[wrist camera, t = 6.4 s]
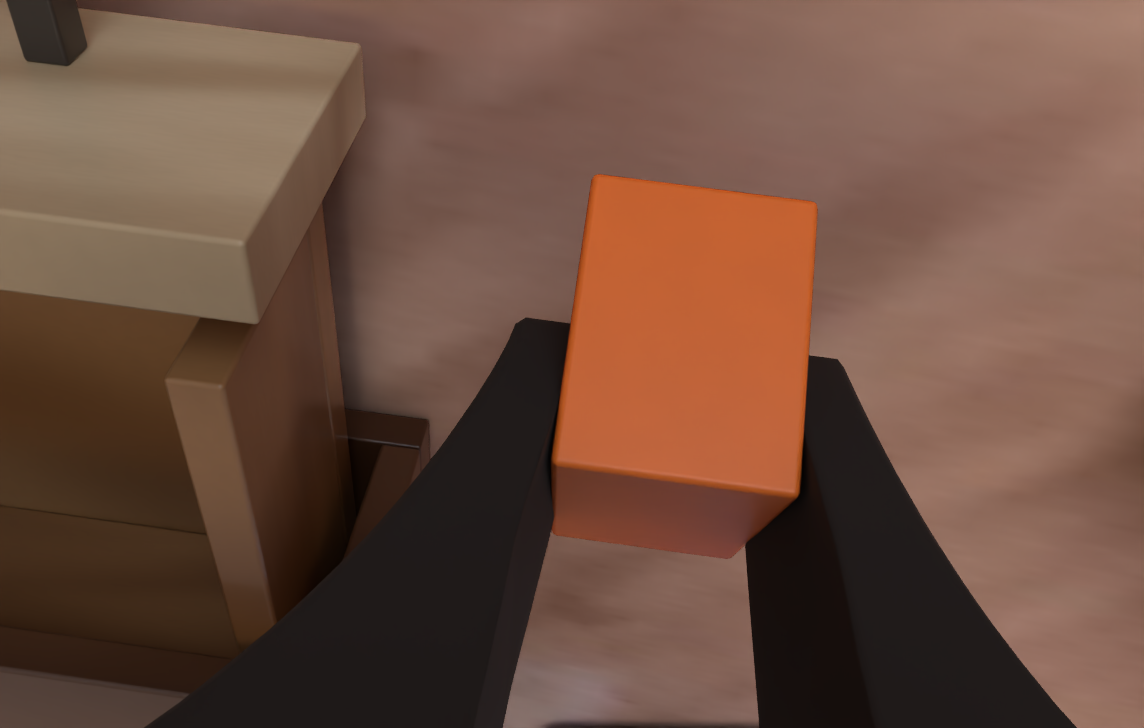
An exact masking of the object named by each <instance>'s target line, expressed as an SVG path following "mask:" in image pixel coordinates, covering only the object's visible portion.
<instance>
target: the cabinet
mask: <svg viewBox="0 0 1144 728" xmlns="http://www.w3.org/2000/svg"><path fill="white" fill-rule="evenodd" d="M345 417H346V427H347V436H348V445H349V454H350V463H351V472H352V482H353V491H354V500H355V509H356V518H357V519H356V522H355V525H354V528H353V531H352V534H351V536H350V539H349V542H348V545H347V548H346V551H345V554H344V557H343V560H344V559H345V558H346V557H347V556H348V555H349V554H350V553H351V551H352V550H353V549H354V548H355V547H356V546H357V545H358V544H359V543H360V542H361V541H362V540H363V539H364V538H365V537H366V536H367V535H368V534H369V533H370V531H371V530H372V529H373V528H374V527H375V526H376V525H377V524H378V523H379V522H380V520H381V519H382V518H383V517H384V516H385V515H386V514H387V512H388V511H389V510H390V509H391V508H392V507H393V506H394V504H395V503H396V502H397V501H398V500H399V499H400V497H401V496H402V495H403V494H404V492H405V491H406V490H407V489H408V487H409V486H410V485H411V484H412V483H413V481H414V480H415V479H416V478H417V476H418V475H419V474H420V473H421V471H422V470H423V469H424V468H425V466H426V465H427V464H428V463H429V461H430V453H429V423H428V421H427V420H423V419H416V418H409V417H402V416H394V415H387V414H380V413H372V412H365V411H358V410H350V409H345ZM343 560H342V561H343ZM232 660H233V659H232V658H225V657H218V656H212V655H205V654H198V653H191V652H184V651H177V650H170V649H163V648H156V647H149V646H142V645H135V644H128V643H121V642H114V641H107V640H100V639H94V638H87V637H80V636H73V635H66V634H59V633H52V632H45V631H38V630H31V629H24V628H17V627H10V626H3V625H0V728H144V727H145V726H147V725H148V724H150V723H151V722H152V721H154V720H155V719H157V718H158V717H159V716H161V715H162V714H164V713H165V712H166V711H168V710H169V709H171V708H172V707H173V706H175V705H176V704H178V703H179V702H180V701H182V700H183V699H184V698H185V697H187V696H188V695H189V694H191V693H192V692H193V691H195V690H196V689H197V688H199V687H200V686H201V685H202V684H204V683H205V682H206V681H207V680H208V679H210V678H211V677H212V676H213V675H215V674H216V673H217V672H218V671H219V670H221V669H222V668H223V667H224V666H225V665H227V664H228V663H229V662H230V661H232Z"/></svg>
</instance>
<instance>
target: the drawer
mask: <svg viewBox="0 0 1144 728" xmlns="http://www.w3.org/2000/svg"><path fill="white" fill-rule="evenodd" d="M365 117H366V108H365V94H364V79H363V65H362V50H361V46H360V44H358V43H352V42H344V41H336V40H328V39H320V38H312V37H304V36H296V35H289V34H281V33H273V32H265V31H257V30H249V29H241V28H233V27H225V26H217V25H209V24H202V23H194V22H186V21H178V20H170V19H162V18H154V17H146V16H138V15H130V14H122V13H115V12H107V11H99V10H91V9H83V8H78V7H77V3H76V0H0V625H3V626H10V627H17V628H24V629H31V630H38V631H45V632H52V633H59V634H66V635H73V636H80V637H87V638H94V639H100V640H107V641H114V642H121V643H128V644H135V645H142V646H149V647H156V648H163V649H170V650H177V651H184V652H191V653H198V654H205V655H212V656H218V657H225V658H232V659H234V658H235V657H236V656H238V655H239V654H240V653H241V652H243V651H244V650H245V649H246V648H247V647H249V646H250V645H251V644H252V643H254V642H255V641H256V640H257V639H258V638H260V637H261V636H262V635H263V634H265V633H266V632H267V631H268V630H269V629H270V628H272V627H273V626H274V625H275V624H276V623H277V622H278V621H279V620H281V619H282V618H283V617H284V616H285V615H286V614H287V613H288V612H289V611H291V610H292V609H293V608H294V607H295V606H296V605H297V604H298V603H299V602H300V601H301V600H302V599H303V598H305V597H306V596H307V595H308V594H309V593H310V592H311V591H312V590H313V589H314V588H315V587H316V586H317V585H318V584H319V583H320V582H321V581H322V580H323V579H324V578H325V577H326V576H327V575H328V574H330V573H331V572H332V571H333V570H334V569H335V568H336V567H337V566H338V565H339V564H340V563H341V562H342V560H343V557H344V554H345V551H346V548H347V545H348V542H349V539H350V536H351V534H352V531H353V528H354V525H355V522H356V519H357V518H356V509H355V500H354V491H353V482H352V472H351V463H350V454H349V445H348V436H347V427H346V417H345V408H344V399H343V390H342V381H341V372H340V362H339V353H338V344H337V335H336V326H335V316H334V307H333V298H332V289H331V280H330V271H329V261H328V252H327V243H326V234H325V225H324V216H323V206H322V200H323V198H324V196H325V194H326V193H327V191H328V189H329V187H330V185H331V183H332V181H333V179H334V177H335V175H336V173H337V171H338V169H339V168H340V166H341V164H342V162H343V160H344V158H345V156H346V154H347V152H348V150H349V148H350V146H351V144H352V142H353V141H354V139H355V137H356V135H357V133H358V131H359V129H360V127H361V125H362V123H363V121H364V119H365Z"/></svg>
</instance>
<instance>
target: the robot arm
mask: <svg viewBox="0 0 1144 728" xmlns="http://www.w3.org/2000/svg"><path fill="white" fill-rule="evenodd" d="M569 330H570V324H569V323H562V322H554V321H547V320H539V319H532V318H525V319H523V320H521V321H520V322H518V323H516V324H515V327H514V329H513V331H512V334H511V336H510V338H509V340H508V342H507V344H506V346H505V348H504V350H503V352H502V354H501V356H500V358H499V359H498V361H497V363H496V365H495V366H494V368H493V370H492V372H491V373H490V375H489V377H488V378H487V380H486V381H485V383H484V385H483V386H482V388H481V389H480V391H479V393H478V394H477V396H476V397H475V399H474V400H473V402H472V403H471V405H470V406H469V408H468V409H467V410H466V412H465V413H464V415H463V416H462V418H461V419H460V420H459V422H458V423H457V425H456V426H455V428H454V429H453V430H452V432H451V433H450V435H449V436H448V438H447V439H446V441H445V442H444V443H443V445H442V446H441V447H440V449H439V450H438V451H437V453H436V454H435V455H434V456H433V458H432V459H431V460H430V461H429V463H428V464H427V465H426V466H425V468H424V469H423V470H422V471H421V473H420V474H419V475H418V476H417V478H416V479H415V480H414V481H413V483H412V484H411V485H410V486H409V487H408V489H407V490H406V491H405V492H404V494H403V495H402V496H401V497H400V499H399V500H398V501H397V502H396V503H395V504H394V506H393V507H392V508H391V509H390V510H389V511H388V512H387V514H386V515H385V516H384V517H383V518H382V519H381V520H380V522H379V523H378V524H377V525H376V526H375V527H374V528H373V529H372V530H371V531H370V533H369V534H368V535H367V536H366V537H365V538H364V539H363V540H362V541H361V542H360V543H359V544H358V545H357V546H356V547H355V548H354V549H353V550H352V551H351V553H350V554H349V555H348V556H347V557H346V558H345V559H344V560H343V561H342V562H341V563H340V564H339V565H338V566H337V567H336V568H335V569H334V570H333V571H332V572H331V573H330V574H328V575H327V576H326V577H325V578H324V579H323V580H322V581H321V582H320V583H319V584H318V585H317V586H316V587H315V588H314V589H313V590H312V591H311V592H310V593H309V594H308V595H307V596H306V597H305V598H303V599H302V600H301V601H300V602H299V603H298V604H297V605H296V606H295V607H294V608H293V609H292V610H291V611H289V612H288V613H287V614H286V615H285V616H284V617H283V618H282V619H281V620H279V621H278V622H277V623H276V624H275V625H274V626H273V627H272V628H270V629H269V630H268V631H267V632H266V633H265V634H263V635H262V636H261V637H260V638H258V639H257V640H256V641H255V642H254V643H252V644H251V645H250V646H249V647H247V648H246V649H245V650H244V651H243V652H241V653H240V654H239V655H238V656H236V657H235V658H234V659H233V660H232V661H230V662H229V663H228V664H227V665H225V666H224V667H223V668H222V669H221V670H219V671H218V672H217V673H216V674H215V675H213V676H212V677H211V678H210V679H208V680H207V681H206V682H205V683H204V684H202V685H201V686H200V687H199V688H197V689H196V690H195V691H193V692H192V693H191V694H189V695H188V696H187V697H185V698H184V699H183V700H182V701H180V702H179V703H178V704H176V705H175V706H173V707H172V708H171V709H169V710H168V711H166V712H165V713H164V714H162V715H161V716H159V717H158V718H157V719H155V720H154V721H152V722H151V723H150V724H148V725H147V726H145V727H144V728H503V723H504V718H505V714H506V709H507V704H508V700H509V695H510V690H511V685H512V682H513V678H514V674H515V670H516V666H517V662H518V658H519V654H520V650H521V646H522V643H523V639H524V635H525V631H526V627H527V623H528V619H529V615H530V611H531V607H532V603H533V600H534V596H535V592H536V588H537V584H538V580H539V576H540V572H541V568H542V564H543V560H544V556H545V553H546V549H547V545H548V541H549V537H550V533H551V529H552V525H553V521H554V511H553V505H552V493H551V453H552V446H553V439H554V433H555V426H556V419H557V412H558V405H559V398H560V392H561V385H562V378H563V371H564V364H565V357H566V351H567V344H568V337H569ZM745 548H746V563H747V576H748V589H749V603H750V615H751V628H752V640H753V652H754V665H755V677H756V690H757V702H758V714H759V728H1077V727H1076V726H1075V725H1074V724H1073V723H1072V722H1071V721H1070V720H1069V719H1068V717H1067V716H1066V715H1065V714H1064V713H1063V712H1062V711H1061V710H1060V709H1059V707H1058V706H1057V705H1056V704H1055V703H1054V702H1053V700H1052V699H1051V698H1050V697H1049V695H1048V694H1047V693H1046V692H1045V691H1044V689H1043V688H1042V687H1041V686H1040V684H1039V683H1038V682H1037V681H1036V679H1035V678H1034V677H1033V676H1032V675H1031V673H1030V672H1029V671H1028V670H1027V668H1026V667H1025V666H1024V665H1023V664H1022V662H1021V661H1020V660H1019V658H1018V657H1017V656H1016V654H1015V653H1014V652H1013V650H1012V649H1011V648H1010V647H1009V645H1008V644H1007V643H1006V641H1005V640H1004V639H1003V637H1002V636H1001V635H1000V633H999V632H998V631H997V629H996V628H995V627H994V625H993V624H992V623H991V621H990V620H989V619H988V617H987V616H986V614H985V613H984V612H983V610H982V609H981V607H980V606H979V605H978V603H977V602H976V600H975V599H974V597H973V596H972V595H971V593H970V592H969V590H968V589H967V587H966V586H965V584H964V583H963V581H962V580H961V578H960V577H959V575H958V574H957V572H956V571H955V569H954V568H953V566H952V565H951V563H950V562H949V560H948V558H947V557H946V555H945V554H944V552H943V551H942V549H941V548H940V546H939V545H938V543H937V541H936V540H935V538H934V536H933V535H932V533H931V532H930V530H929V528H928V527H927V525H926V523H925V522H924V520H923V518H922V517H921V515H920V513H919V511H918V510H917V508H916V506H915V505H914V503H913V501H912V499H911V498H910V496H909V494H908V492H907V491H906V489H905V487H904V485H903V484H902V482H901V480H900V478H899V477H898V475H897V473H896V471H895V469H894V468H893V466H892V464H891V462H890V460H889V458H888V457H887V455H886V453H885V451H884V449H883V447H882V445H881V443H880V441H879V439H878V437H877V435H876V433H875V431H874V430H873V428H872V426H871V424H870V422H869V420H868V418H867V416H866V413H865V411H864V409H863V407H862V405H861V403H860V401H859V399H858V397H857V395H856V393H855V391H854V388H853V386H852V384H851V382H850V380H849V378H848V375H847V373H846V371H845V369H844V367H843V366H842V365H841V363H840V362H839V361H838V359H832V358H824V357H817V356H809V360H808V376H807V392H806V408H805V424H804V440H803V456H802V472H801V489H800V494H799V496H798V498H797V499H796V500H794V501H793V502H792V503H791V504H790V505H789V506H788V507H787V508H786V509H784V510H783V511H782V512H781V513H780V514H779V515H778V516H777V517H776V518H774V519H773V520H772V521H771V522H770V523H769V524H768V525H767V526H766V527H765V528H763V529H762V530H761V531H760V532H759V533H758V534H757V535H755V536H754V537H753V538H752V539H750V540H749V541H748V542H747V543H746V546H745Z"/></svg>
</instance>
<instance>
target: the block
mask: <svg viewBox="0 0 1144 728" xmlns="http://www.w3.org/2000/svg"><path fill="white" fill-rule="evenodd" d="M817 214H818V209H817V205H816V203H814V202H812V201H805V200H797V199H789V198H781V197H774V196H766V195H758V194H750V193H742V192H735V191H727V190H719V189H711V188H703V187H695V186H688V185H680V184H672V183H664V182H656V181H649V180H641V179H633V178H625V177H617V176H609V175H602V174H598V175H595V176H594V177H593V179H592V180H591V186H590V193H589V200H588V207H587V214H586V221H585V227H584V234H583V241H582V248H581V255H580V262H579V268H578V275H577V282H576V289H575V296H574V303H573V310H572V316H571V323H570V330H569V337H568V344H567V351H566V357H565V364H564V371H563V378H562V385H561V392H560V398H559V405H558V412H557V419H556V426H555V433H554V439H553V446H552V453H551V493H552V505H553V511H554V521H553V525H552V532H553V533H554V534H555V535H557V536H565V537H572V538H579V539H586V540H594V541H601V542H608V543H615V544H622V545H630V546H637V547H644V548H651V549H659V550H666V551H673V552H680V553H687V554H695V555H702V556H709V557H716V558H724V559H728V558H731V557H732V556H734V555H735V554H736V553H737V552H738V551H739V550H740V549H741V548H742V547H743V546H745V545H746V543H747V542H748V541H749V540H750V539H752V538H753V537H754V536H755V535H757V534H758V533H759V532H760V531H761V530H762V529H763V528H765V527H766V526H767V525H768V524H769V523H770V522H771V521H772V520H773V519H774V518H776V517H777V516H778V515H779V514H780V513H781V512H782V511H783V510H784V509H786V508H787V507H788V506H789V505H790V504H791V503H792V502H793V501H794V500H796V499H797V498H798V496H799V494H800V489H801V472H802V456H803V440H804V424H805V408H806V392H807V376H808V360H809V343H810V327H811V311H812V295H813V279H814V263H815V247H816V230H817Z"/></svg>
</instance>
